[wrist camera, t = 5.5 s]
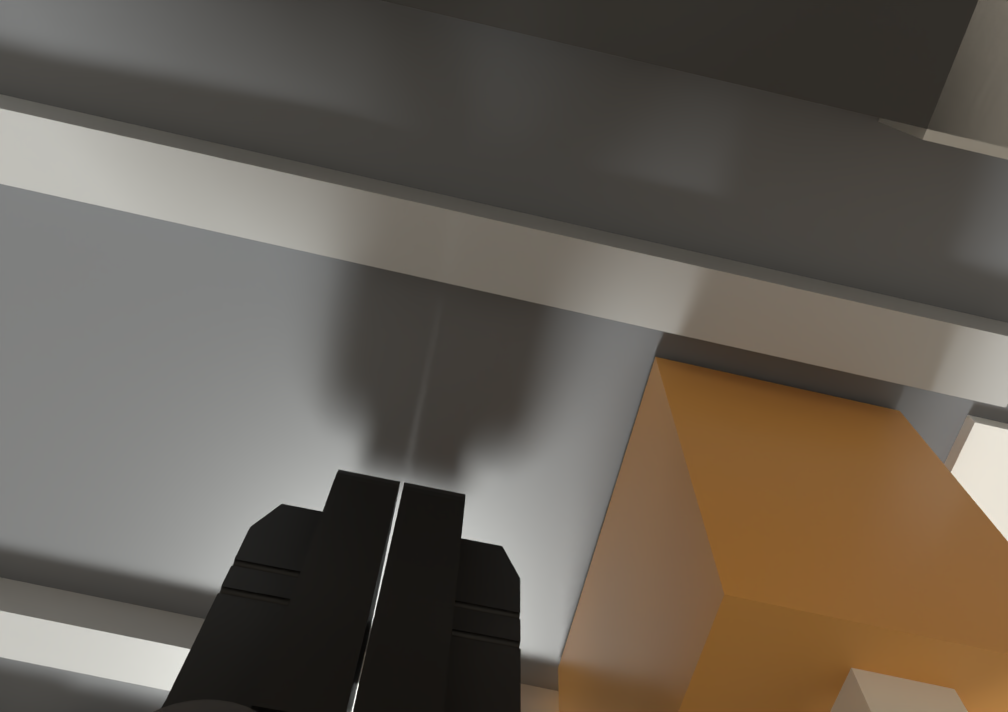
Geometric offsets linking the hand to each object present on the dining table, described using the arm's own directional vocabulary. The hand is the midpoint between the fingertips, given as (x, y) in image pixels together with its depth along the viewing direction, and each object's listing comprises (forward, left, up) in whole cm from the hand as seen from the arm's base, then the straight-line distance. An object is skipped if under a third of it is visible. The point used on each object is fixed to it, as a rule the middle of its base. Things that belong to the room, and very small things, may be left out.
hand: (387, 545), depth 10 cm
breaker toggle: (0, +4, -1) cm, 4 cm away
